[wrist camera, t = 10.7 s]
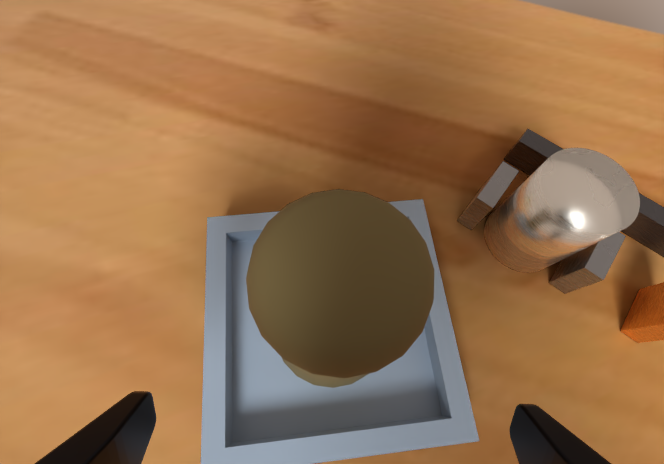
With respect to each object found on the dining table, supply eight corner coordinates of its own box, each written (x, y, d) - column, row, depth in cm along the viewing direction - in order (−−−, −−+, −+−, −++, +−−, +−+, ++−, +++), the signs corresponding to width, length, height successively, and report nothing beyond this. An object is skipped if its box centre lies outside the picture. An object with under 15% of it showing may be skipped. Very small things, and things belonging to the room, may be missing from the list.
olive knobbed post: (317, 249, 20) (314, 118, 10) (409, 310, 19) (511, 231, 9) (249, 340, 18) (159, 291, 8) (347, 414, 17) (386, 467, 7)
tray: (462, 434, 17) (479, 441, 16) (213, 467, 17) (200, 478, 15) (414, 214, 22) (422, 199, 20) (217, 231, 21) (207, 217, 19)
